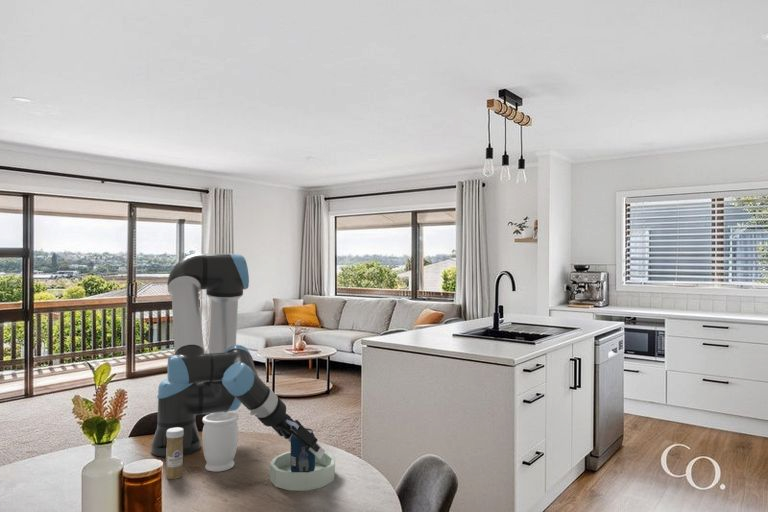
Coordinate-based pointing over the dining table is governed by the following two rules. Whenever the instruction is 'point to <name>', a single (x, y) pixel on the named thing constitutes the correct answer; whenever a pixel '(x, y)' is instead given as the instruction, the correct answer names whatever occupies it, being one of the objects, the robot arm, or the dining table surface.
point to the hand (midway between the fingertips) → (312, 451)
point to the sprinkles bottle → (174, 452)
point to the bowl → (301, 473)
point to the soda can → (301, 456)
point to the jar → (220, 440)
